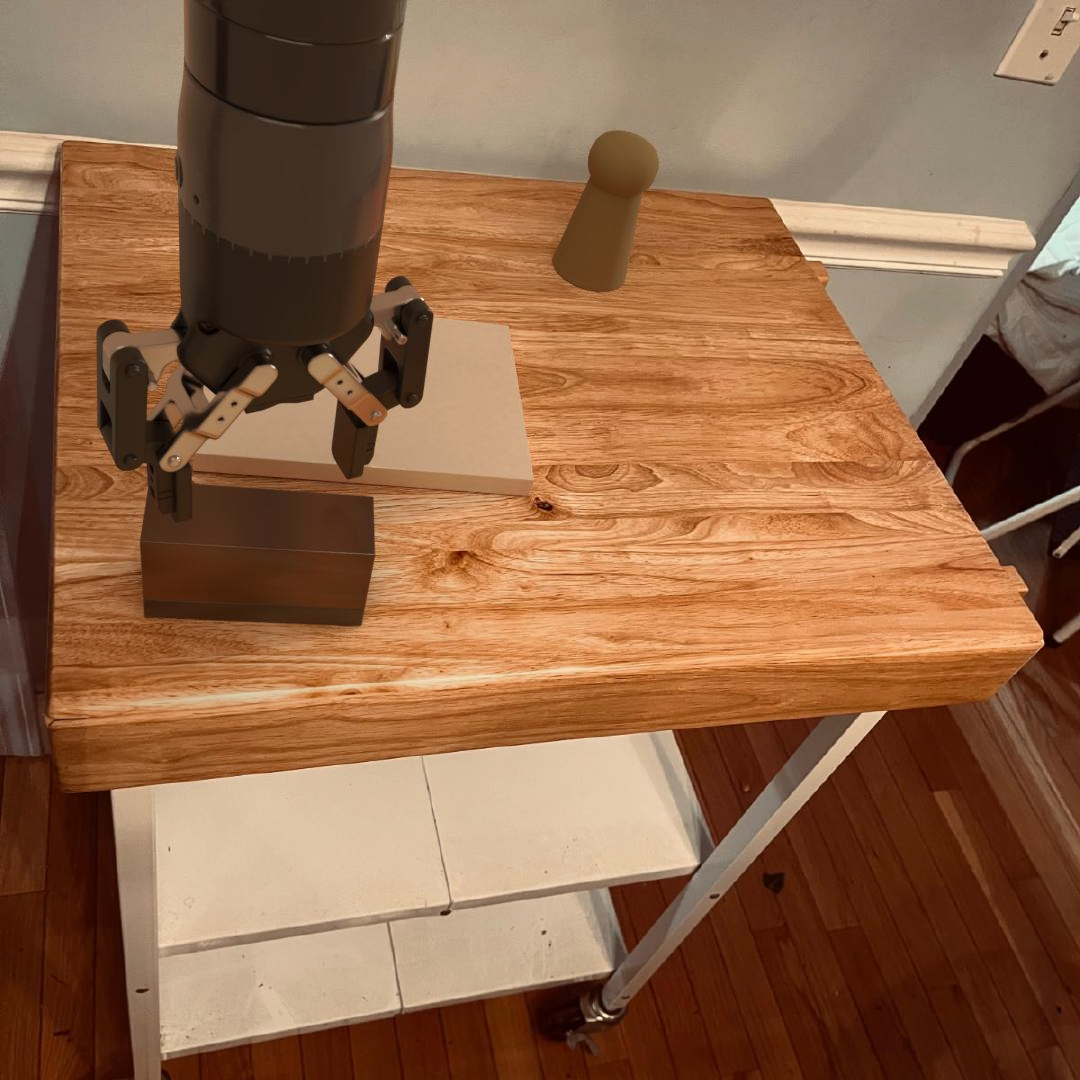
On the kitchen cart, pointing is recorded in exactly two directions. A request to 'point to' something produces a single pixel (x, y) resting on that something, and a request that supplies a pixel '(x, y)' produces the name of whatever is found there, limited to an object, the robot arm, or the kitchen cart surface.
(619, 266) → the olive brown pawn
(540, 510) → the kitchen cart surface
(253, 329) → the robot arm
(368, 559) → the dark brown block
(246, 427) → the tile
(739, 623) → the kitchen cart surface
